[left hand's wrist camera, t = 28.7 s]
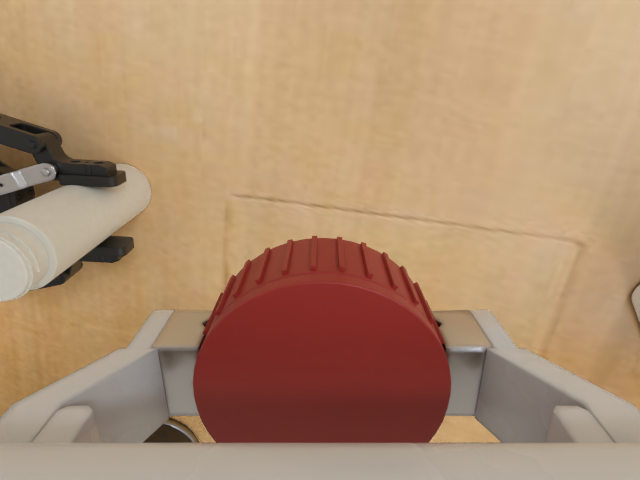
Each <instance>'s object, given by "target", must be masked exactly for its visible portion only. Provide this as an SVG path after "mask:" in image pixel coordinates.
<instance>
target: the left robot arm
mask: <svg viewBox="0 0 640 480" xmlns="http://www.w3.org/2000/svg"><path fill="white" fill-rule="evenodd" d="M631 299H632V303H633V306H634V309H635V311H636V314H637V317H638V320H639V323H640V285H639V286H638V287H637V288H636V289H635V290H634V291H633V293H632V296H631ZM212 312H213V311H208V310H155V311H153V312H152V313H151V314H150V316H149V317H148V318H147V320H146V321H145V323H144V324H143V325H142V327H141V328H140V330H139V331H138V333H137V334H136V335H135V337H134V338H133V340H132V341H131V342H130V344H129V345H128V347H127V348H119V349H118V350H116V351H114V352H112V353H110V354H108V355H106V356H104V357H102V358H100V359H98V360H96V361H94V362H93V363H91V364H89V365H87V366H85V367H83V368H81V369H79V370H77V371H75V372H73V373H71V374H70V375H68V376H66V377H64V378H62V379H60V380H58V381H56V382H54V383H52V384H50V385H48V386H46V387H45V388H43V389H41V390H39V391H37V392H35V393H33V394H31V395H29V396H27V397H25V398H23V399H21V400H20V401H18V402H16V403H14V404H12V405H11V406H10V408H9V409H8V410H7V411H6V412H5V413H4V414H3V415H2V416H1V417H0V480H640V411H639V410H638V409H637V408H636V407H635V406H634V405H633V404H631V403H629V402H627V401H626V400H624V399H622V398H620V397H618V396H616V395H614V394H612V393H610V392H608V391H606V390H604V389H602V388H600V387H598V386H597V385H595V384H593V383H591V382H589V381H587V380H585V379H583V378H581V377H579V376H577V375H575V374H573V373H571V372H569V371H568V370H566V369H564V368H562V367H560V366H558V365H556V364H554V363H552V362H550V361H548V360H546V359H544V358H542V357H540V356H539V355H537V354H535V353H533V352H531V351H529V350H527V349H525V348H518V347H517V346H516V345H515V343H514V342H513V341H512V339H511V338H510V337H509V335H508V334H507V332H506V331H505V330H504V328H503V327H502V326H501V324H500V323H499V322H498V320H497V319H496V317H495V316H494V315H493V313H492V312H491V311H489V310H487V309H485V310H455V311H431V312H432V314H433V316H434V318H435V321H436V323H437V325H438V327H439V330H440V332H441V334H442V336H443V339H444V341H445V343H444V344H442V346H443V349H444V351H445V353H446V357H447V360H448V363H449V367H450V375H451V395H450V400H449V404H448V409H447V411H446V414H445V415H450V416H475V418H476V419H477V420H478V421H479V422H480V423H481V424H482V425H483V426H484V427H485V428H486V429H488V430H489V431H490V432H491V433H492V434H493V435H494V436H495V437H496V438H497V439H499V440H500V441H501V442H502V443H143V442H144V441H145V440H146V439H147V438H148V437H149V436H150V435H151V434H153V433H154V432H155V431H156V430H157V429H158V428H159V427H160V426H161V425H162V424H163V423H164V422H166V421H167V420H168V419H169V416H193V415H199V413H198V410H197V407H196V403H195V399H194V392H193V374H194V367H195V363H196V359H197V355H198V353H199V351H200V348H201V346H202V344H203V342H204V339H205V337H206V335H204V334H202V333H203V331H204V329H205V327H206V324H207V322H208V320H209V318H210V316H211V314H212Z"/></svg>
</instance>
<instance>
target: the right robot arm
mask: <svg viewBox="0 0 640 480" xmlns="http://www.w3.org/2000/svg"><path fill="white" fill-rule="evenodd" d="M0 144H3V145H6V146H9V147H12V148H15V149H18V150H22V151H25V152H28V153H31V154H33V156H34V158H35V160H36V162H37V163H38V164H35V165H32V166H28V167H25V168H21V169H18V170H14V169H13V168H11V167H10V166H8V165H6V164H5V163H3V162H2V161H0V213H2V212H5V211H7V210H9V209H12V208H14V207H16V206H19V205H21V204H23V203H25V202H28V201H30V200H32V199H34V198H35V192H34V187H33V185H37V184H40V183H44V182H48V181H51V180H59V181H60V185H77V186H96V187H116V186H119V185H121V184H123V183H124V182H126V181H127V180H126V172H125V171H123V170H117V167H116V164H114V163H112V162H109V161H94V160H76V159H71V158H69V157H68V156H67V155H66V154H65V153H64V151H63V149H62V148H61V144H62V138H61V136H60V135H59V134H58V133H57V132H55V131H53V130H49V129H46V128H43V127H40V126H37V125H34V124H31V123H28V122H25V121H22V120H19V119H16V118H12V117H9V116H6V115H3V114H0ZM133 248H134V242H133V238H132V237H119V236H109V237H108V238H106V239H105V240H104V241H103V242H101V243H100V244H99V245H97V246H96V247H95V248H93V249H92V250H91V251H90V252H88V253H87V254H86V255H84V256H83V257H82V258H80V259H79V260H78V261H76V262H75V263H74V264H73V265H71V266H70V267H69V268H67V269H66V270H65V271H63V272H62V273H61V274H60V275H58V276H57V277H56V278H54V279H53V280H52V281H50V282H49V283H48V284H46V285H45V286H43V287H41V288H46V287H51V286H56V285H60V284H63V283H64V282H66V281H67V280H68V279H69V278H70V277H72V276H73V275H74V274H75V273H77V272H78V271H79V270H80V269H81V268H82V266H83V264H82V261H89V262H108V263H113V262H116V261H119V260H120V259H121V258H122V257H123V256H125V255H127V254H128V253H129V252H130V251H131V250H132V249H133ZM41 288H39V289H41ZM35 290H36V289H35ZM29 291H31V290H29ZM143 443H199V442H198V440H197V438H196V437H195V435H194V434H193V433H192V432H191V431H190V430H189V429H188V428H187V427H185V426H184V425H182V424H180V423H178V422H176V421H174V420H171V419H168V420H167V421H166V422H164V423H163V424H162V425H161V426H160V427H159V428H158V429H157V430H156V431H155V432H154V433H153V434H151V435H150V436H149V437H148V438H147V439H146V440H145V441H144V442H143Z"/></svg>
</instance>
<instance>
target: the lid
mask: <svg viewBox="0 0 640 480" xmlns="http://www.w3.org/2000/svg"><path fill="white" fill-rule="evenodd" d="M202 334H204V335H206V337H205V339H204V342H203V344H202V346H201V348H200V351H199V353H198V355H197V359H196V363H195V367H194V374H193V392H194V399H195V403H196V407H197V410H198V413H199V415H200V418H201V420H202V422H203V424H204V426H205V427H206V429H207V431H208V432H209V434H210V435H211V436H212V438H213V439H214V440H215V441H216V443H429V441H430V440H431V439H432V437H433V436H434V435H435V434H436V432H437V430H438V429H439V427H440V425H441V423H442V422H443V419H444V417H445V414H446V411H447V409H448V404H449V400H450V395H451V375H450V367H449V363H448V360H447V357H446V353H445V351H444V349H443V346H442V344H444V343H445V341H444V339H443V336H442V334H441V332H440V330H439V327H438V325H437V323H436V321H435V318H434V316H433V314H432V312H431V310H430V307H429V305H428V303H427V301H426V300H425V298H424V296H423V293H422V291H421V289H420V287H419V285H418V283H417V282H416V283H413V282H412V280H411V279H410V278H409V276H408V274H407V271H406V269H405V268H404V267H403V266H401V267H399V266H398V265H397V264H395V263H394V262H393V261H392V260H391V259H389V257H388V255H387V254H386V253H385V252H383V254H381V253H379V252H378V251H375V250H373V249H371V248H369V247H367V246H366V243H363V242H361V244H357V243H354V242H351V241H345V240H342V237H337V239H330V238H317V236H312V239H304V240H299V241H293V240H292V239H291V240H288V242H287V243H286V244H283V245H280V246H277V247H275V248H273V249H271V250H270V248H267V249H265V251H264V253H263V254H261V255H260V256H258V257H257V258H255V259H254V260H252V261H250V260H248V261H246V263H245V265H244V268H243V269H242V270H241V271H240V272H239V273H238V274H237V276H236V277H235V276H234V275H232V277H231V278H230V280H229V282H228V284H227V287H226V289H225V291H224V293H221V294H220V296H219V299H218V301H217V303H216V305H215V307H214V309H213V312H212V314H211V316H210V318H209V320H208V322H207V324H206V327H205V329H204V331H203V333H202Z"/></svg>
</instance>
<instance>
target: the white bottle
mask: <svg viewBox="0 0 640 480" xmlns="http://www.w3.org/2000/svg"><path fill="white" fill-rule="evenodd" d="M116 167H117V170H123V171H125V172H126V180H127V181H126V182H124V183H123V184H121V185H119V186H116V187H96V186H77V185H65V186H62V187H60V188H58V189H55V190H53V191H51V192H48V193H46V194H44V195H42V196H39V197H37V198H35V199H32V200H30V201H28V202H25V203H23V204H21V205H19V206H16V207H14V208H12V209H9V210H7V211H5V212H2V213H0V301H8V300H13V299H14V300H15V299H17V298H19V297H22V296H23V295H25V294H26V293H27V292H28V291H29V290H35V289H39V288H41V287H43V286H45V285H46V284H48V283H49V282H50V281H52V280H53V279H54V278H56V277H57V276H58V275H60V274H61V273H62V272H63V271H65V270H66V269H67V268H69V267H70V266H71V265H73V264H74V263H75V262H76V261H78V260H79V259H80V258H82V257H83V256H84V255H86V254H87V253H88V252H90V251H91V250H92V249H93V248H95V247H96V246H97V245H99V244H100V243H101V242H103V241H104V240H105V239H106V238H108V237H109V236H110V235H112V234H113V233H114V232H116V231H117V230H118V229H120V228H121V227H122V226H123V225H125V224H126V223H127V222H129V221H130V220H131V219H133V218H134V217H135V216H136V215H138V214H139V213H140V212H142V211H143V210H144V209H145V208H146V207H147V206H148V204H149V203H150V200H151V187H150V184H149V182H148V180H147V178H146V177H145V175H144V174H143V173H142V172H141V171H139V170H138V169H137V168H135V167H133V166H131V165H127V164H116Z"/></svg>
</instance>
